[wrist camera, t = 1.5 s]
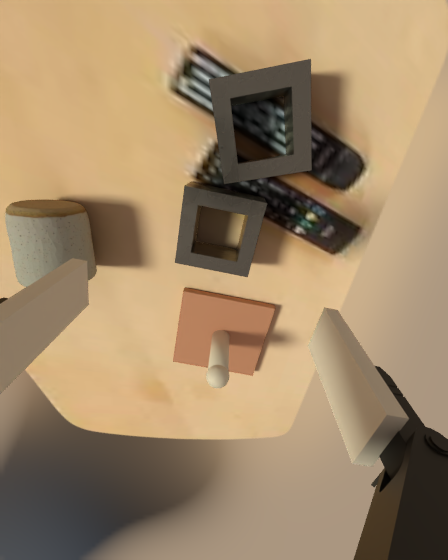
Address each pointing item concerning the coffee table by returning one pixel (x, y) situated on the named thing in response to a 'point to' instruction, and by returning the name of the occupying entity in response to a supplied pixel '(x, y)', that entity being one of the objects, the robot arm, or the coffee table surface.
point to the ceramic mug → (48, 237)
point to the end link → (213, 254)
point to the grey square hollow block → (297, 114)
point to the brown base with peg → (221, 333)
